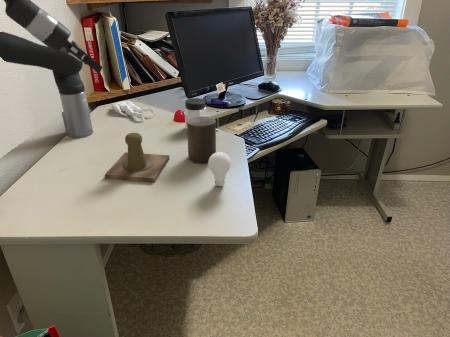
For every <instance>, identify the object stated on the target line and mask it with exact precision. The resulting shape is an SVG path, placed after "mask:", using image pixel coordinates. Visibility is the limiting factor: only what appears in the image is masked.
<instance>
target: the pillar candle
mask: <svg viewBox="0 0 450 337" xmlns="http://www.w3.org/2000/svg"><path fill="white" fill-rule="evenodd" d="M216 123H217V122H216V119H215V118H214V117H211V116H206V117H203V116H201V117H200V116H199V117H193V118H190V119H188V120H187V129H186V130H187V155H188V160H189V161H191V162H192V163H194V164H198V165H199V164H201V165H202V164H203V165H204V164H208V161H209V158H210V157H211V155H212V154H214V153H216V152H217V130H216V128H217V127H216V126H217V125H216Z"/></svg>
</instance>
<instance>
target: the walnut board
mask: <svg viewBox="0 0 450 337" xmlns="http://www.w3.org/2000/svg"><path fill="white" fill-rule="evenodd" d="M144 156H145V160H146V163H147V166H146V167H145V168H143V169H140V170H131V169H129V168H128V151H127V152H124V153H123V154H122V155H121V156H120V157H119V158H118V159H117V160H116V162H115V163H114V164H113V165H112V166H111V167H110V168H109V169H108V170H107V171H106V173H105V174H104V178H105V179H106V180H116V181H117V180H119V181H120V180H121V181H130V182H141V183H142V182H143V183H156V182H157V180H158V178H159V177H160V175H161V173H162V172H163V170H164V168H166V165H168V163H169V161H170V155H168V154H156V153H144Z"/></svg>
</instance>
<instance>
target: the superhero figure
mask: <svg viewBox="0 0 450 337" xmlns="http://www.w3.org/2000/svg"><path fill="white" fill-rule="evenodd" d="M110 107H111V108H112V110H114V111H113V112H115V113H117V114H120V115H121V116H124V117H127V118H128V117H129V116H132V117H139V118H141V122H143V123H144V122H145V121H146V119H145V117H144V113H145V112H151V114H152V116H153V117H155V116H156V111H155V110H154V108H152V107H151V108H149V107H142V108H140V107H138V106H137V105H136V104H134V103H133V102H131V101H130V100H128V101H127V100H124V101H123V100H122V101H117V102H115V103H114V102H112V103H111V106H110ZM124 112H125V113H124Z"/></svg>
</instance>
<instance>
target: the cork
mask: <svg viewBox="0 0 450 337" xmlns="http://www.w3.org/2000/svg"><path fill="white" fill-rule="evenodd" d="M124 141H125V144H126V145H127V152H128V168H129V169H131V170H140V169H143V168H145V167H146V166H147V163H146V160H145V156H144V154H145V153H144V149H143V146H142V143H143V137H142V134H140V133H138V132H129V133H127V134H126V135H125V137H124Z"/></svg>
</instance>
